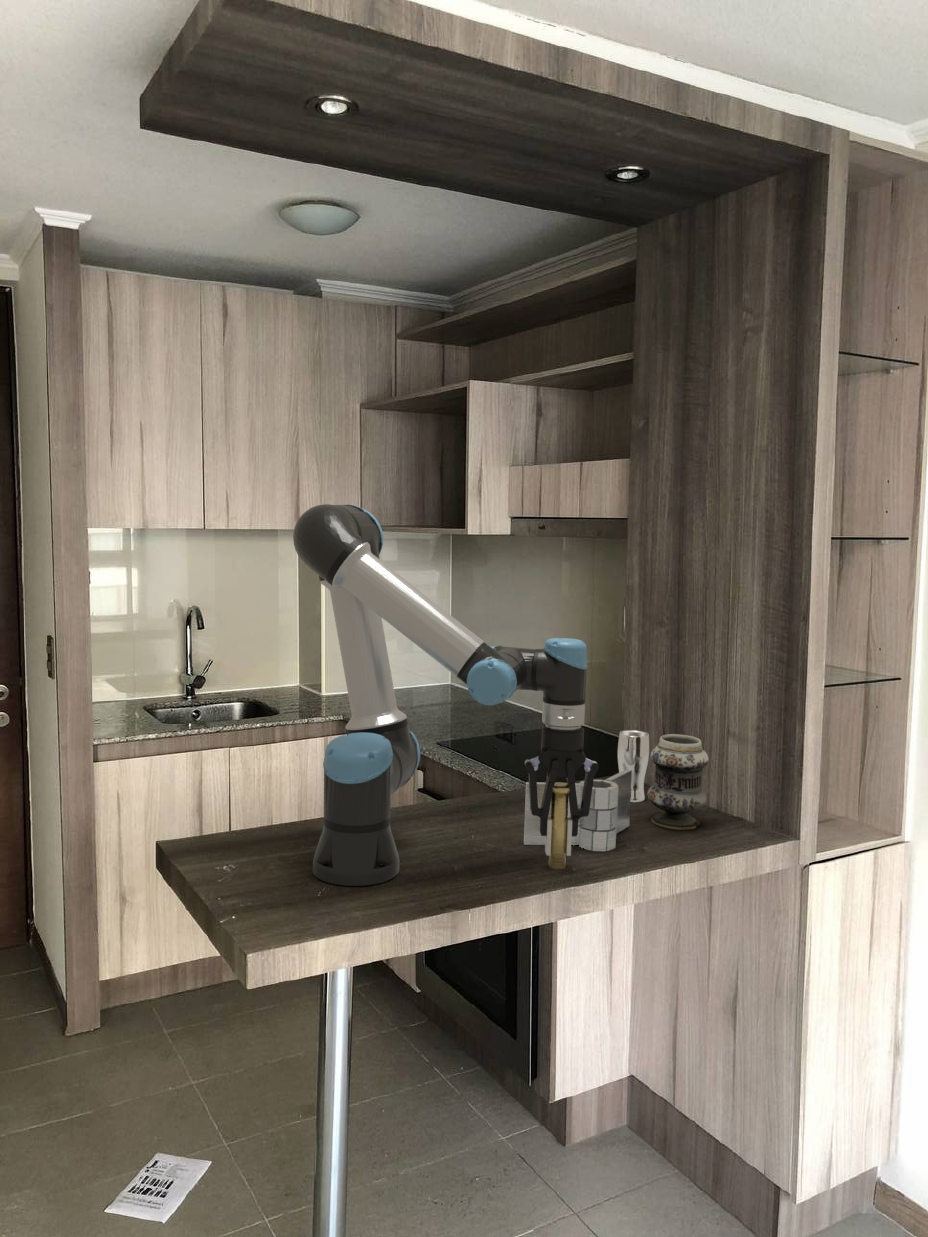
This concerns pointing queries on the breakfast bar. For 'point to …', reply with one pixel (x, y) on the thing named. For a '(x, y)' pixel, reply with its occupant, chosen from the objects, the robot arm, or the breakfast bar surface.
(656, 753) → the apothecary jar
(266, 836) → the breakfast bar surface
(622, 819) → the hinge swing leaf
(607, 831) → the hinge fixed leaf
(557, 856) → the brass pin
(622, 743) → the beer glass
